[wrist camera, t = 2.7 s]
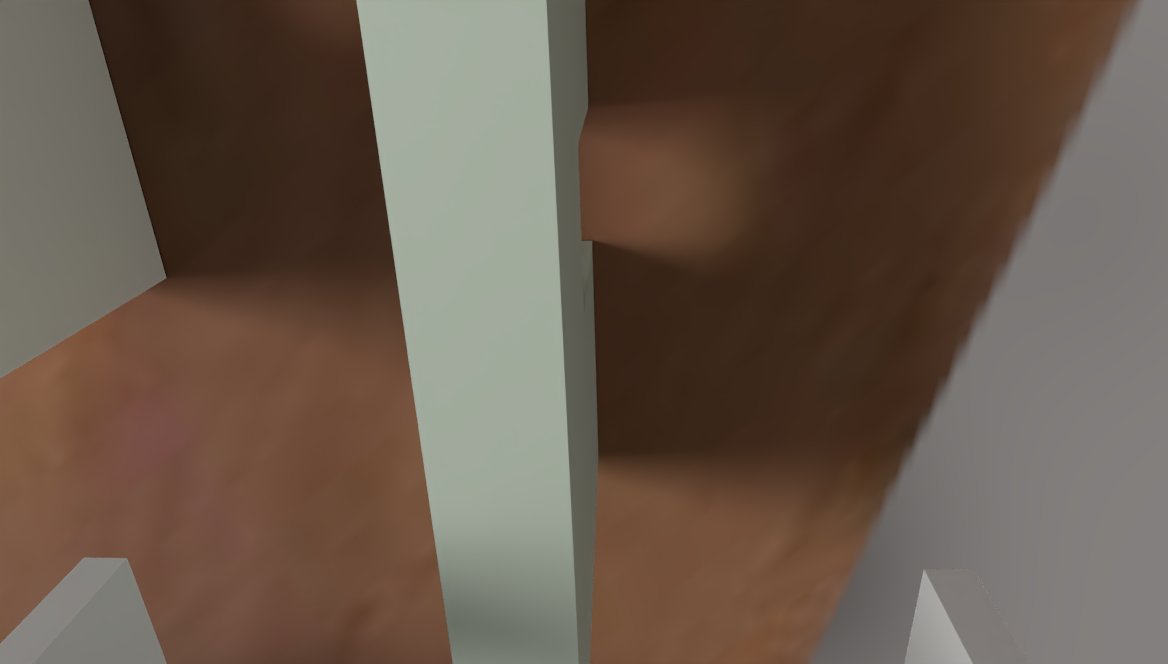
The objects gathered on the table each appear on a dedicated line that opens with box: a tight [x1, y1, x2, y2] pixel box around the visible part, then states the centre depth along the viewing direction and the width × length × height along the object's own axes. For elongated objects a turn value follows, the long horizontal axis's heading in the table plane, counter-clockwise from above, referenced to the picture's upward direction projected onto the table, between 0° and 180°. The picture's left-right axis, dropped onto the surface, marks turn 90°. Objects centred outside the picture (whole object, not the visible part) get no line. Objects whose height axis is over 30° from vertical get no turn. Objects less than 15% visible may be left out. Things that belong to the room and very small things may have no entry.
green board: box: [357, 0, 598, 664], centre depth 17 cm, size 20×2×12 cm, turn 2°
